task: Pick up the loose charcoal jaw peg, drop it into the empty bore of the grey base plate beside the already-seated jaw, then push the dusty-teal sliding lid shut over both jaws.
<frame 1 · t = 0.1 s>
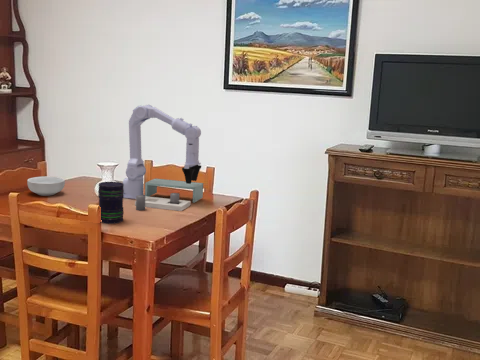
hand: (191, 182, 261), 10 cm above the table, fingers open, 7 cm apart
lid: (174, 190, 269), point 5 cm above the table, slide at 14.0 cm
storage jar: (110, 221, 227), on the table
grey base plate: (163, 205, 256), on the table
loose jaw: (140, 209, 247), on the table
seated jaw: (174, 206, 255), resting in grey base plate
cereal bowl: (46, 194, 268), on the table
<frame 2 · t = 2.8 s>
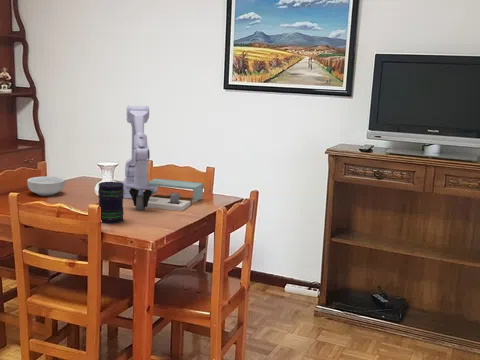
hand: (140, 206, 247), 1 cm above the table, fingers closed on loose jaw, 4 cm apart
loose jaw: (140, 209, 247), on the table, touching gripper
everything else where it was.
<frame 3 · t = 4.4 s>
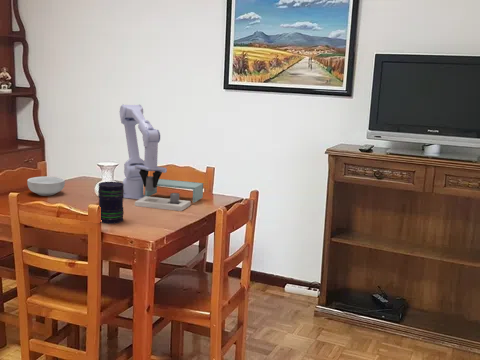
hand: (150, 186, 254), 8 cm above the table, fingers closed on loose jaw, 4 cm apart
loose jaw: (150, 190, 254), point 7 cm above the table, touching gripper
everything else where it was.
when the fingers open (3 cm above the table, at t = 6.0 s): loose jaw drops 2 cm, resting in grey base plate.
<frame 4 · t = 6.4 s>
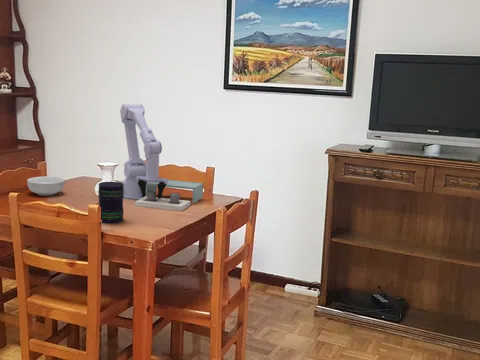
hand: (151, 197, 257), 3 cm above the table, fingers open, 7 cm apart
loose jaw: (151, 204, 257), resting in grey base plate
everything else where it was.
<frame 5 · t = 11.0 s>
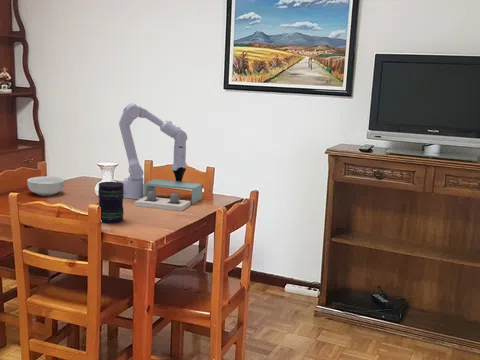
hand: (178, 183, 274), 7 cm above the table, fingers closed
lid: (173, 190, 268), point 5 cm above the table, slide at 12.8 cm, touching gripper
everything else where it was.
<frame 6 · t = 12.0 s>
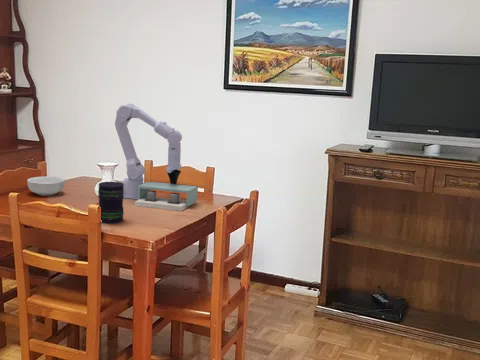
hand: (173, 185, 267), 7 cm above the table, fingers closed
lid: (167, 193, 261), point 5 cm above the table, slide at 5.5 cm, touching gripper
everything else where it was.
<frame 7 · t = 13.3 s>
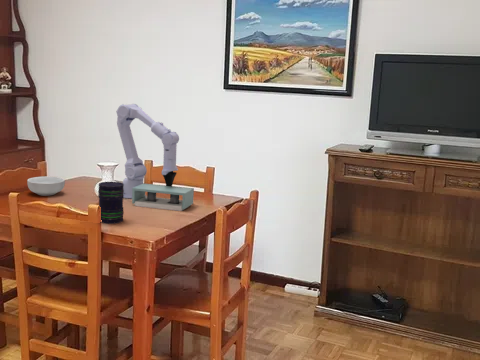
hand: (169, 187, 261), 7 cm above the table, fingers closed
lid: (163, 195, 255), point 5 cm above the table, slide at 0.0 cm, touching gripper
everything else where it was.
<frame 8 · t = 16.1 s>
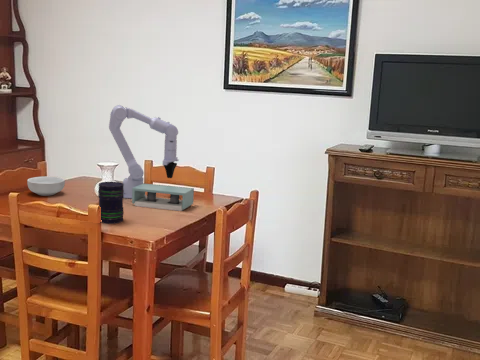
hand: (169, 177, 272), 9 cm above the table, fingers closed
lid: (163, 195, 255), point 5 cm above the table, slide at 0.0 cm
everything else where it was.
at the end: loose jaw 0.0 cm from the target spot on the grey base plate, point 0.0 cm above the grey base plate's base; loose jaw tilted 0°; lid slide at 0.0 cm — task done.
